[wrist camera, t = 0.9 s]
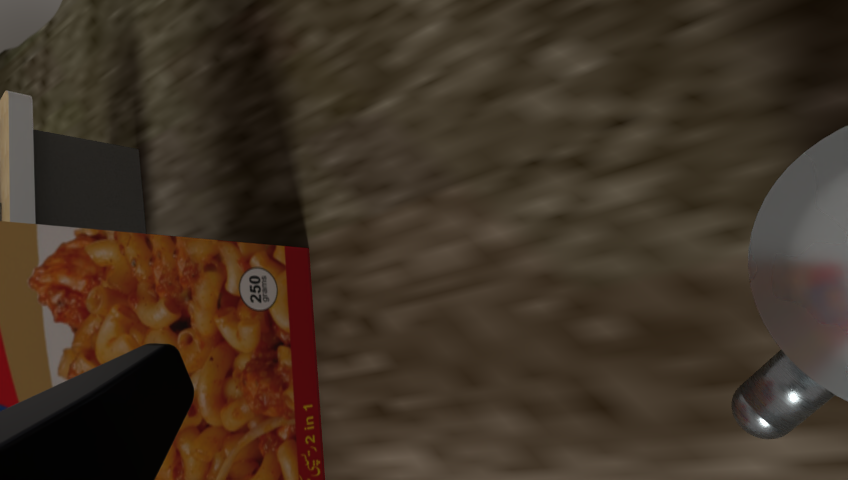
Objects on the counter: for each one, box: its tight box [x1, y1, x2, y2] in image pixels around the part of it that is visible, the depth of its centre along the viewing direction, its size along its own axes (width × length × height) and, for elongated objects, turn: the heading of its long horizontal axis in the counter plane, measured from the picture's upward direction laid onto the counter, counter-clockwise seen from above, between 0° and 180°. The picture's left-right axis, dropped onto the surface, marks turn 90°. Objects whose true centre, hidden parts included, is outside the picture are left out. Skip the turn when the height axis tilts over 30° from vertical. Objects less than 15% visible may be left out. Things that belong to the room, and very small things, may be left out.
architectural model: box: [0, 91, 146, 234], centre depth 46 cm, size 38×25×20 cm, turn 18°
